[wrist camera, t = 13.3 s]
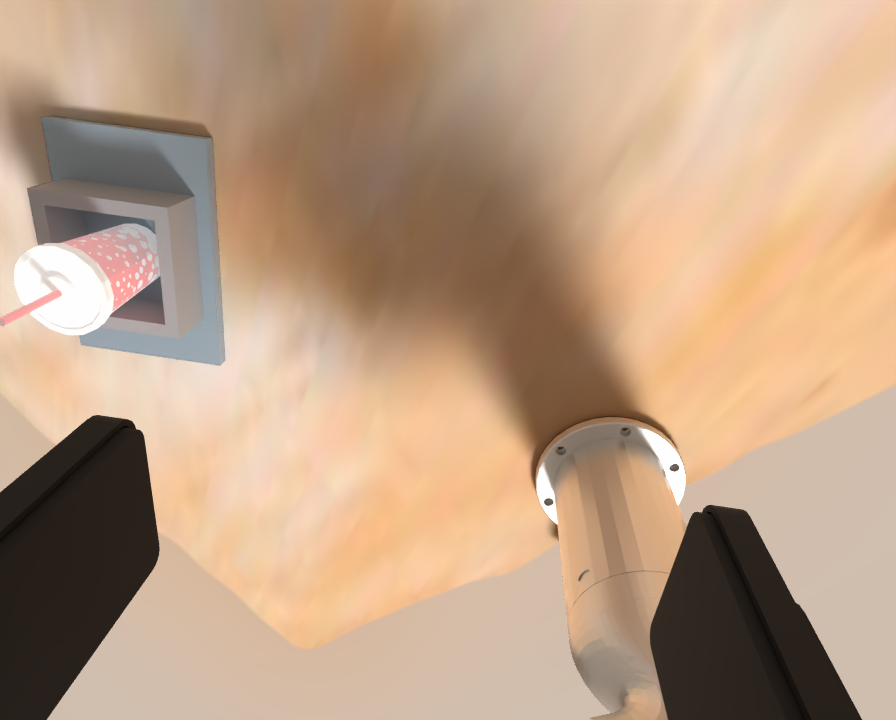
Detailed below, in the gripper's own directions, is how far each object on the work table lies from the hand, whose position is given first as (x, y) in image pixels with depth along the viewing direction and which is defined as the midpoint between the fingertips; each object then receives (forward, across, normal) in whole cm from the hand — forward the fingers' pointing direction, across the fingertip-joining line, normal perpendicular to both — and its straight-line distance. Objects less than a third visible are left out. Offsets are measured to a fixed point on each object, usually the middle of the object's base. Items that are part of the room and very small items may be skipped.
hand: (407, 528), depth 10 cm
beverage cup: (+35, +26, +9) cm, 45 cm away
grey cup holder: (+36, +26, +9) cm, 45 cm away
